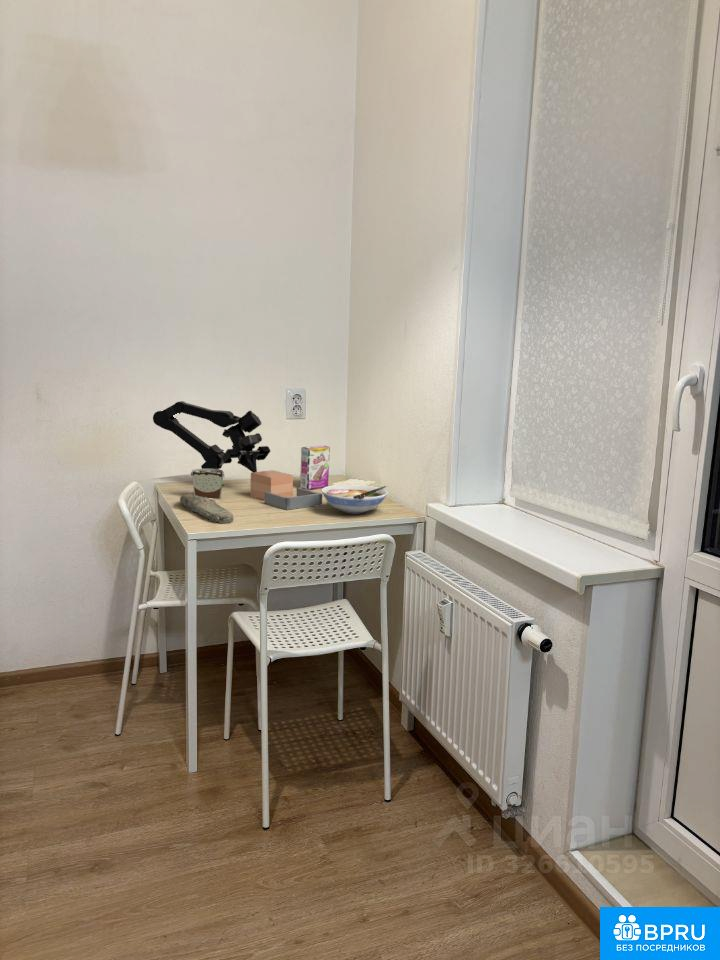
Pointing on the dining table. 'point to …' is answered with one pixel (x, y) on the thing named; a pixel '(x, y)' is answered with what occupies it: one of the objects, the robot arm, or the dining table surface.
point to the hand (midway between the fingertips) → (255, 472)
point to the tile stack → (271, 484)
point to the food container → (207, 482)
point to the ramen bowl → (354, 497)
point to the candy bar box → (314, 467)
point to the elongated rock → (206, 508)
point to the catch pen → (294, 499)
